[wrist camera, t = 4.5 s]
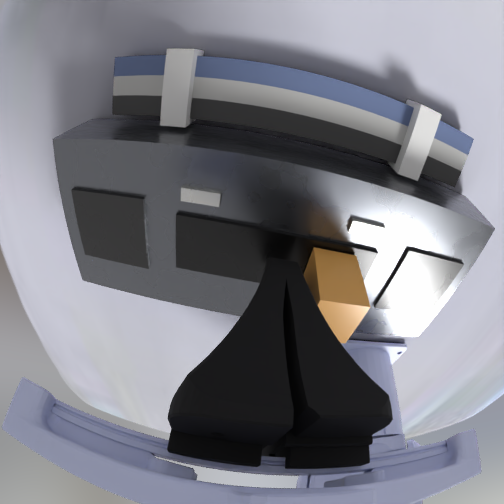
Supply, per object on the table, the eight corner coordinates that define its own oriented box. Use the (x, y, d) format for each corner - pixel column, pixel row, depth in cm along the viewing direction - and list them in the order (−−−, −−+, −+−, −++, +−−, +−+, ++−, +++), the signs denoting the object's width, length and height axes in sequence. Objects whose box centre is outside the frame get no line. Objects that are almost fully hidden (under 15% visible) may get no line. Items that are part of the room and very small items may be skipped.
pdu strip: (405, 299, 19) (418, 339, 16) (106, 246, 18) (81, 282, 15) (465, 196, 13) (496, 230, 10) (92, 119, 12) (50, 140, 9)
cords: (444, 183, 13) (457, 196, 12) (122, 115, 12) (106, 123, 11) (465, 128, 11) (481, 137, 9) (125, 51, 10) (109, 52, 9)
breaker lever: (337, 292, 13) (345, 343, 11) (298, 286, 13) (300, 338, 11) (356, 255, 12) (370, 307, 9) (313, 247, 12) (320, 300, 9)
